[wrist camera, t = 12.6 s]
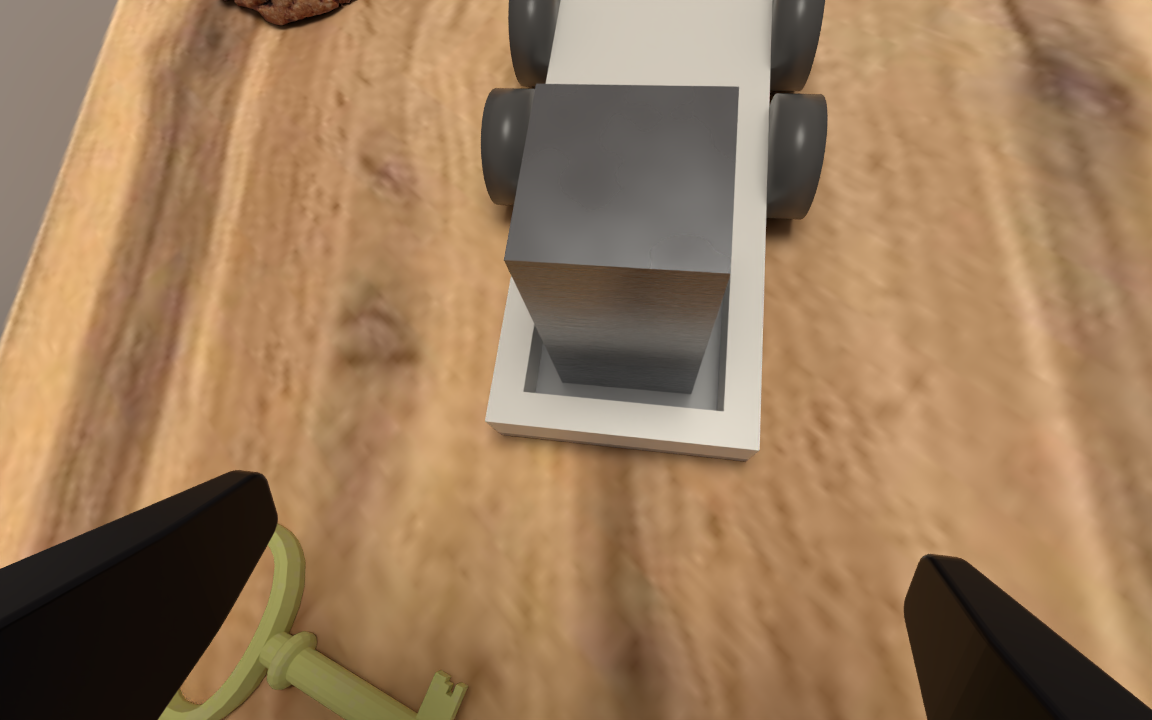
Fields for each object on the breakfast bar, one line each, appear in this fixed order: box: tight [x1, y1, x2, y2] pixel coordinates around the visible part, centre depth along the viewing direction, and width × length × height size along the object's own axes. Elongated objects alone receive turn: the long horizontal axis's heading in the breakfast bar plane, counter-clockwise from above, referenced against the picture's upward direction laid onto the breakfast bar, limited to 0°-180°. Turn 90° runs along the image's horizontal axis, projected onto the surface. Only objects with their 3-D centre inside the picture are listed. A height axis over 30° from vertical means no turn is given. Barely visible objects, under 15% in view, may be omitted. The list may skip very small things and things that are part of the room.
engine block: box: [504, 84, 739, 394], centre depth 18 cm, size 5×5×10 cm
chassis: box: [481, 0, 827, 461], centre depth 23 cm, size 21×13×5 cm, turn 173°
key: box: [158, 524, 468, 720], centre depth 20 cm, size 7×12×2 cm, turn 85°
